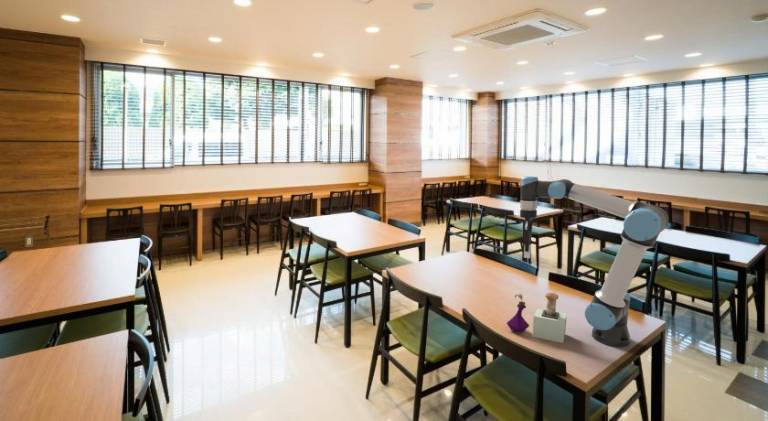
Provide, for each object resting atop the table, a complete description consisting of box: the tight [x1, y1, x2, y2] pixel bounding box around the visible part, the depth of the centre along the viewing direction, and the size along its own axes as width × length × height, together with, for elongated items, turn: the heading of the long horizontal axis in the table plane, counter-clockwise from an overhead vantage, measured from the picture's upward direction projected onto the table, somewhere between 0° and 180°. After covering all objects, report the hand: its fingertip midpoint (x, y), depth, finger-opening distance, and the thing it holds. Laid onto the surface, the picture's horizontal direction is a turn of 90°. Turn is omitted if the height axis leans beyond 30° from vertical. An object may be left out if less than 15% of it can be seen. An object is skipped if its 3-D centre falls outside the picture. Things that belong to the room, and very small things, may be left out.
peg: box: [544, 292, 559, 317], centre depth 183 cm, size 6×6×10 cm
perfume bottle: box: [506, 293, 530, 334], centre depth 188 cm, size 8×8×18 cm
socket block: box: [532, 308, 568, 344], centre depth 184 cm, size 13×10×11 cm
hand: (527, 257), depth 193 cm, fingers closed
